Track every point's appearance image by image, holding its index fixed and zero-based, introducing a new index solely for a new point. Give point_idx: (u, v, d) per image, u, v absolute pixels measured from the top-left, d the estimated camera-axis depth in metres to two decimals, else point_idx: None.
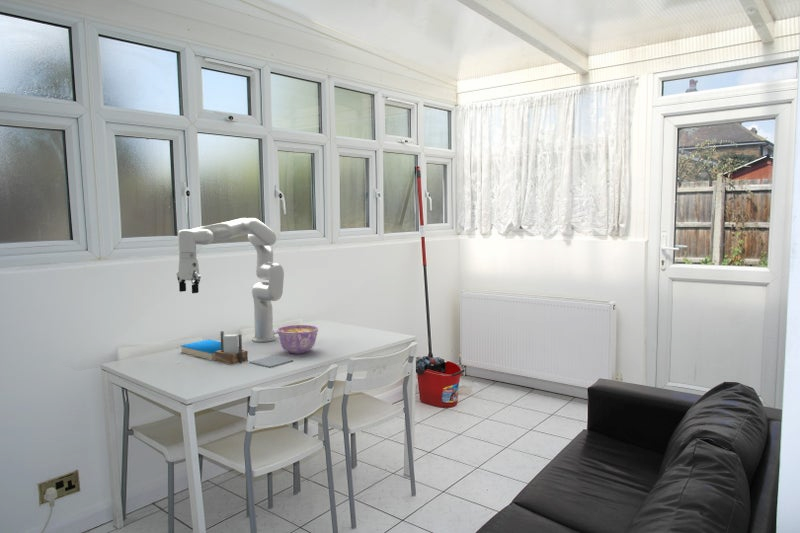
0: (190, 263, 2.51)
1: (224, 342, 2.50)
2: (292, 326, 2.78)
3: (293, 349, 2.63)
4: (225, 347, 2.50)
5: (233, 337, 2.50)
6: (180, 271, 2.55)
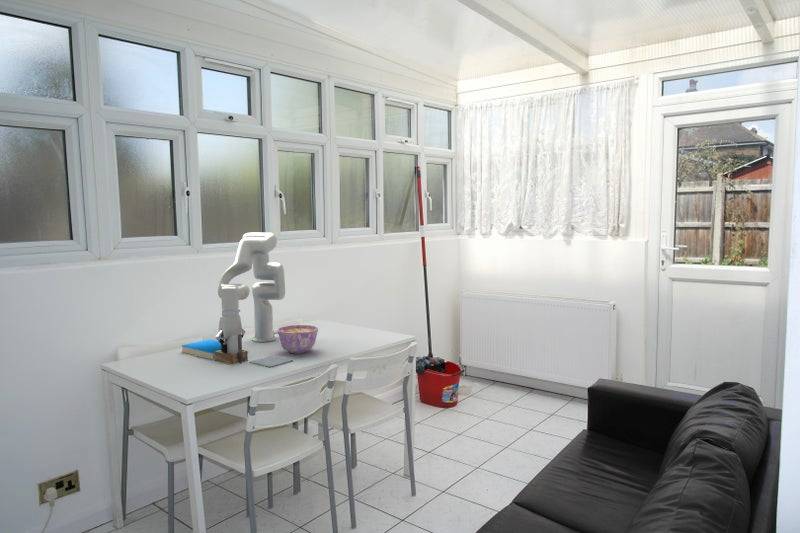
0: (240, 318, 2.54)
1: None
2: (292, 326, 2.78)
3: (293, 349, 2.63)
4: None
5: (233, 337, 2.50)
6: (229, 329, 2.48)
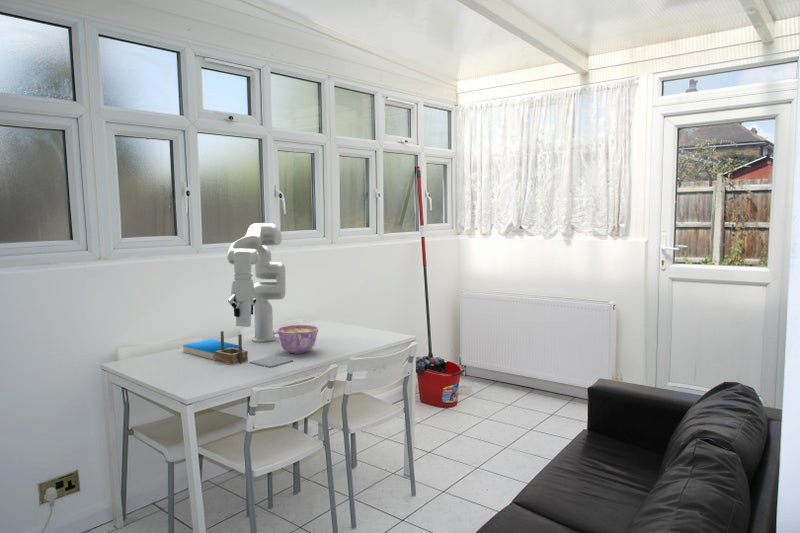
0: None
1: None
2: (292, 326, 2.78)
3: (293, 349, 2.63)
4: None
5: (246, 302, 2.48)
6: (241, 293, 2.46)
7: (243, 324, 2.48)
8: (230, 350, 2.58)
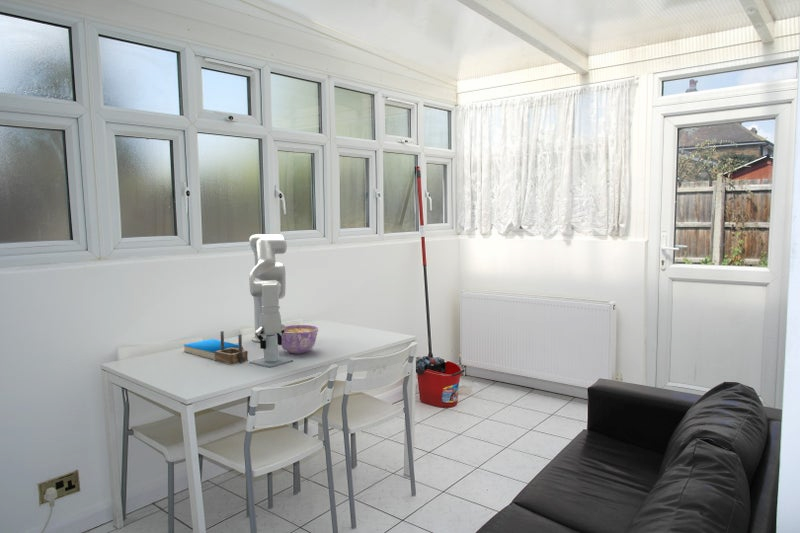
0: None
1: None
2: (292, 326, 2.78)
3: (293, 349, 2.63)
4: None
5: (273, 337, 2.48)
6: (269, 326, 2.46)
7: (271, 359, 2.49)
8: (230, 350, 2.58)
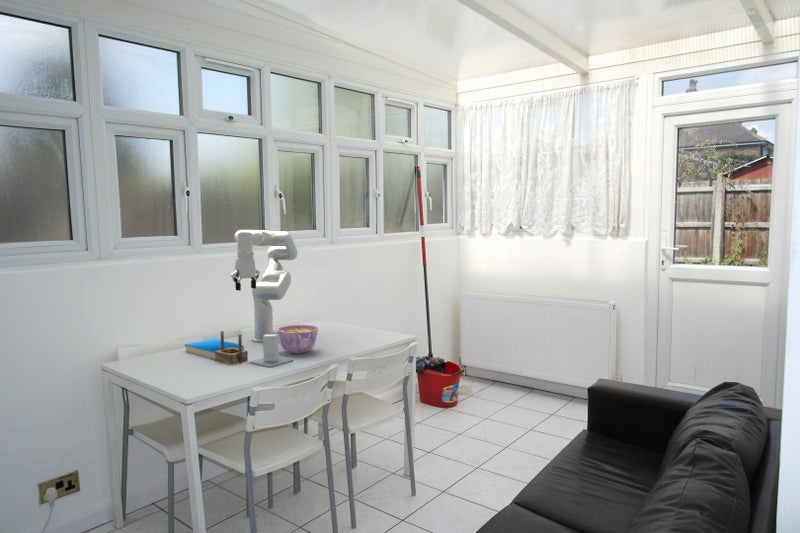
0: (254, 261, 2.75)
1: (264, 342, 2.48)
2: (292, 326, 2.78)
3: (293, 349, 2.63)
4: (265, 347, 2.48)
5: (273, 337, 2.48)
6: (244, 270, 2.70)
7: (271, 359, 2.49)
8: (230, 350, 2.58)
